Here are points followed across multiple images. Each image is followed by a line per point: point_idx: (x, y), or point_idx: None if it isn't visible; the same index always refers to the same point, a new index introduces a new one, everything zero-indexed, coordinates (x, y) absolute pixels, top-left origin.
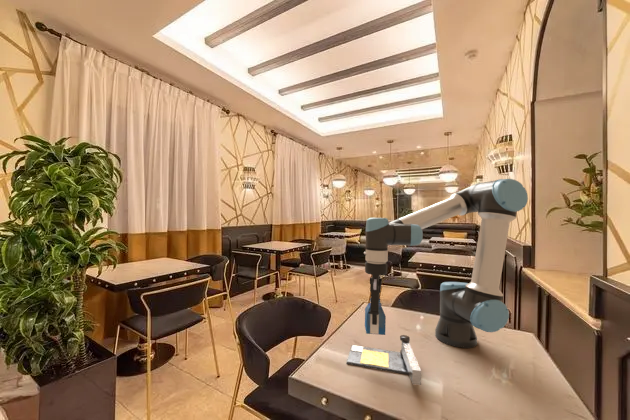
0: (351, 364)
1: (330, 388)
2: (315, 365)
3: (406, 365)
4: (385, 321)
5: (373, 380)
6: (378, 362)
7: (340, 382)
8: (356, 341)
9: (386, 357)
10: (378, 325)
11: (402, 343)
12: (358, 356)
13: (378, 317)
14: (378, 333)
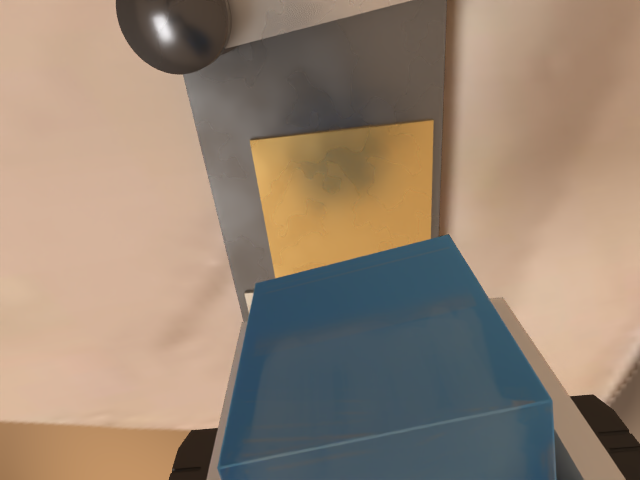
0: None
1: (635, 331)
2: None
3: None
4: (508, 332)
5: (549, 181)
6: (396, 186)
7: (589, 310)
8: (171, 332)
9: (314, 146)
10: (548, 367)
11: (262, 38)
12: None
13: (612, 465)
14: (503, 303)
